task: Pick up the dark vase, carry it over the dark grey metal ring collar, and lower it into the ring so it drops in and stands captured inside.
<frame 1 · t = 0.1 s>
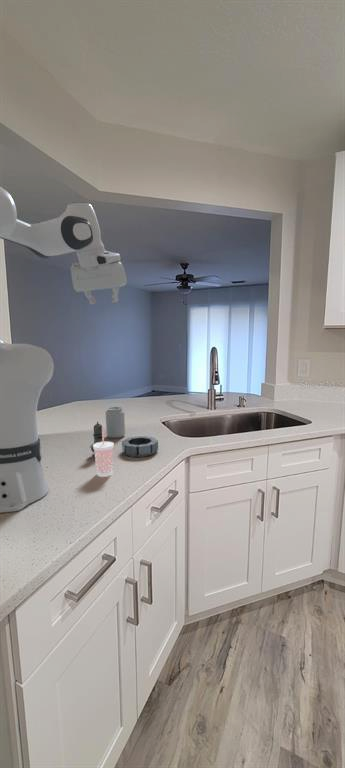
hand: (104, 302, 114), 52 cm above the worktop, tool tilted 20°, fingers open, 8 cm apart
can: (116, 436, 140), on the worktop
beverage cup: (104, 474, 101), on the worktop
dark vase: (99, 456, 117), on the worktop
metal ring collar: (140, 451, 120), on the worktop
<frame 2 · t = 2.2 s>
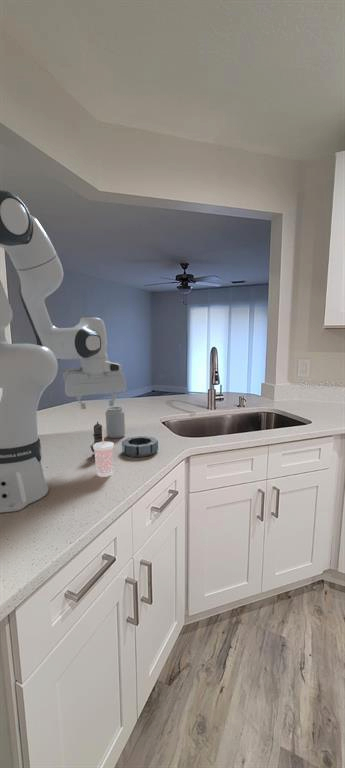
hand: (97, 407, 115), 17 cm above the worktop, tool pointing down, fingers open, 8 cm apart
nothing on the worktop moved.
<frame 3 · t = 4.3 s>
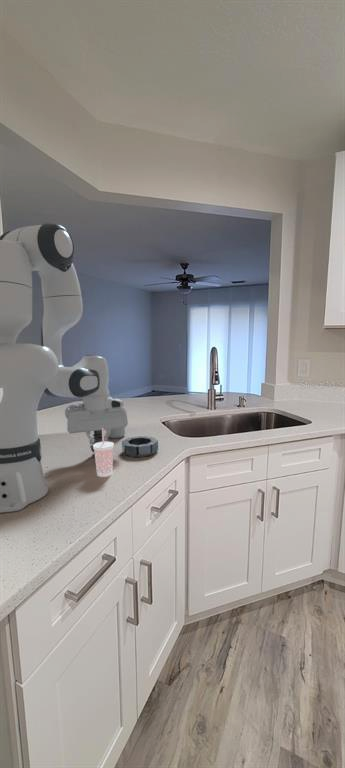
hand: (98, 442, 116), 5 cm above the worktop, tool pointing down, fingers closed on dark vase, 3 cm apart
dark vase: (99, 456, 117), on the worktop, touching gripper
everything else where it was.
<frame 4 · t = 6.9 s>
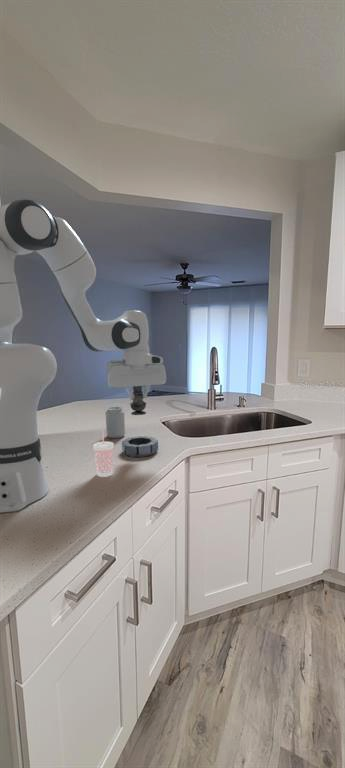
hand: (138, 398, 117), 19 cm above the worktop, tool pointing down, fingers closed on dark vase, 3 cm apart
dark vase: (138, 414, 118), point 14 cm above the worktop, touching gripper
everything else where it was.
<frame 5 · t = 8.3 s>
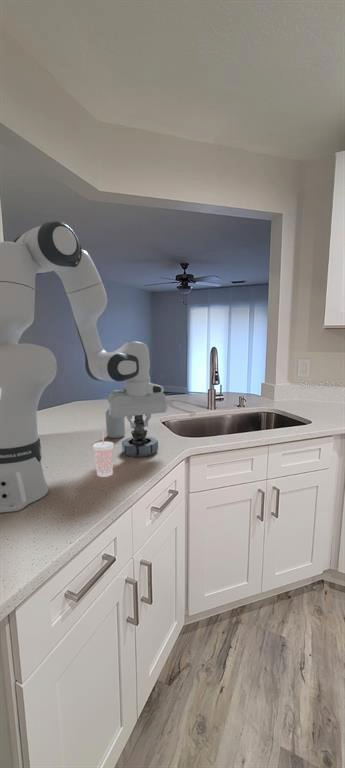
hand: (139, 427, 119), 9 cm above the worktop, tool pointing down, fingers closed on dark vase, 3 cm apart
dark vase: (139, 442, 120), point 3 cm above the worktop, touching gripper
everything else where it was.
when the fingers open (7 cm above the worktop, at t = 9.4 s): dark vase stays where it is, resting on metal ring collar.
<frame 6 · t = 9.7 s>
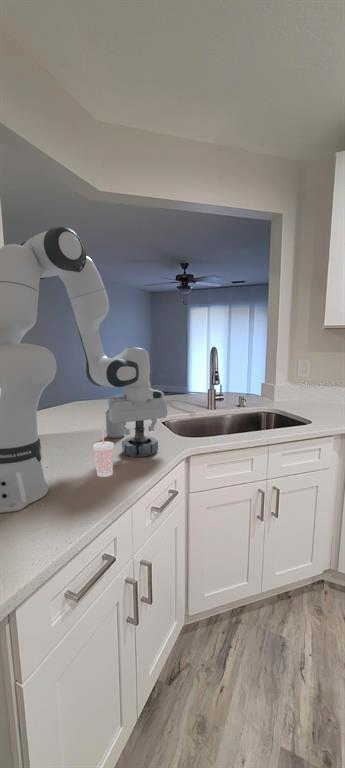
hand: (139, 432, 119), 7 cm above the worktop, tool pointing down, fingers open, 7 cm apart
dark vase: (139, 449, 120), point 1 cm above the worktop, touching metal ring collar
everything else where it was.
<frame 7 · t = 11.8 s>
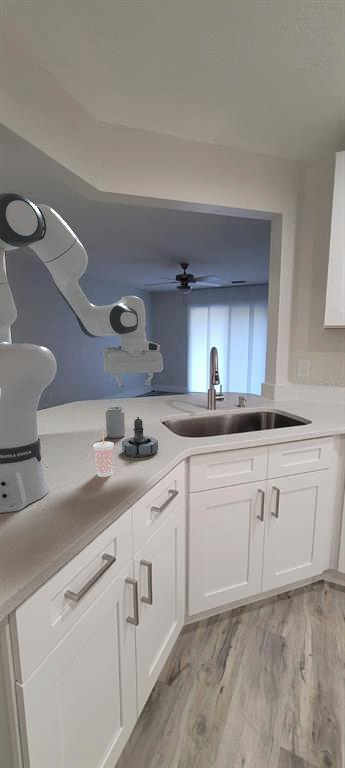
hand: (134, 386, 116), 23 cm above the worktop, tool pointing down, fingers open, 8 cm apart
nothing on the worktop moved.
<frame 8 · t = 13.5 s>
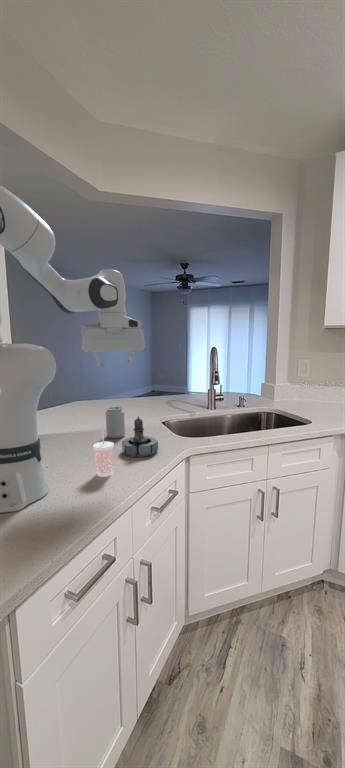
hand: (115, 365, 111), 31 cm above the worktop, tool pointing down, fingers open, 8 cm apart
nothing on the worktop moved.
at the end: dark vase 0.3 cm off-centre on the metal ring collar, point 0.6 cm above the metal ring collar's base; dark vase tilted 0°; the gripper is holding nothing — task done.
